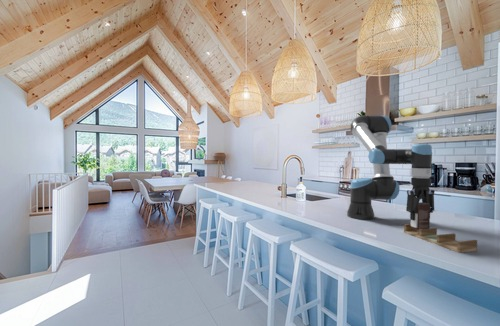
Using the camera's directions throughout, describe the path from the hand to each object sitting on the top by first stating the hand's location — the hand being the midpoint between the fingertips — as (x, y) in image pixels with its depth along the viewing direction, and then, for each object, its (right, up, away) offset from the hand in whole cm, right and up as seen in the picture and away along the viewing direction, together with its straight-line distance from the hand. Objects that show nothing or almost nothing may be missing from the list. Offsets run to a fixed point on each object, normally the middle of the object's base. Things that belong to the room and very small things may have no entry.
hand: (420, 226), depth 109 cm
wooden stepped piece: (+2, -4, -8) cm, 9 cm away
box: (0, -1, 0) cm, 1 cm away
